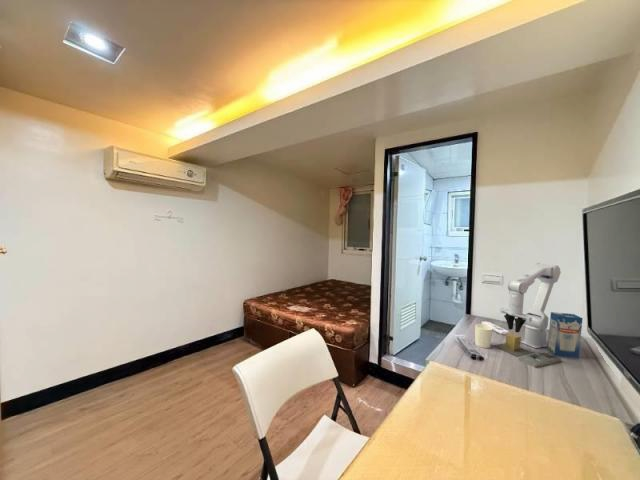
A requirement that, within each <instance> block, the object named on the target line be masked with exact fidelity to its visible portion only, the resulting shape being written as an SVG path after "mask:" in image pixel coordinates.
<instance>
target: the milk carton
mask: <svg viewBox="0 0 640 480" xmlns="http://www.w3.org/2000/svg"><path fill="white" fill-rule="evenodd" d="M582 326H583V317H581V316H579V315H576V314H574V313H568V312H567V313H565V312H564V313H563V312H554V311H551V312H550V318H549V329H548V330H549V331H548V342H547V351H548V353H550V354H553V355H555V356H558V357H560V358H561V357H562V358H571V359H578V360H579V358H580V349H581V338H582V329H583V327H582Z"/></svg>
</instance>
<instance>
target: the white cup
mask: <svg viewBox="0 0 640 480" xmlns="http://www.w3.org/2000/svg"><path fill="white" fill-rule="evenodd" d="M493 329H494V328H493V327H492V326H490V325H487V324H483V323H477V324H475V325H474V338H475V340H474V341H475V342H474V343H475V345H476V346H477V347H478V348H479V347H480V348H482V349H483V348H484V349H489V348H491V342H492V339H493Z"/></svg>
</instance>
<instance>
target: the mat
mask: <svg viewBox="0 0 640 480" xmlns="http://www.w3.org/2000/svg"><path fill="white" fill-rule="evenodd" d="M505 344H506V342H503V343H498V344H493V345H492V346H493V347H495V348H497V349H499V350H502V351H504V352H506V353H508V354H509V355H512V356H514V357H516V358H517V357H519V356H522V355H527V354H532V353H534V352H532V351H530V350H528V349H526V348H523V347H521V346H520V350H519V351H512V350H510V349H507V348H505Z"/></svg>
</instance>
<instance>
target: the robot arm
mask: <svg viewBox="0 0 640 480" xmlns="http://www.w3.org/2000/svg"><path fill="white" fill-rule="evenodd" d="M561 272H562V271H561V268H560V266H559V265H554V264H548V263H540V262H537V263H536V264H534V266H533V269H532V270H531V271H530V272H529V273H524V274H523V275H521V276H520V277H518V278H517V279H515V280H514V279H513V280H510V281H509V282H508V285H507V290H508V294H509V301H508V309H506V308H500V310H499V312H500V313H501V314H502V313H503V314H504V316H503V317H504V318H505V321H506V323H507V324H506V325H507V327H508V330H509V331H510V330H515V333H520V331H521V328H522V327H523V326H524V327H525V329H524V339H523V340H521V343H522V344H525V345H527V346H529V347H532V348H534V349H539V348H545V347H548V344H546V341H547V332H546V329H548V325H549V320H550V318H549V316H548V315H547V314H546V313H545V310H546V306H547V304H548V302H549V299H550V296H551V293H552V290H553V288H554V285H555V283H557V282H558V281H559V278H560V275H561ZM536 279H538V280H539V281H540V282H541V283H540V285H539V288H538V292H537V294H536V297H535V299H534V302H533V306H532V308H530V309H526V310H525V312H524V313H523V311H524V299H525V294H526V293H527V291H528V289H529V287H530V286H532V285H533V284H534V283H535V282H536ZM514 322H515V323H514ZM514 324H515V329H514Z"/></svg>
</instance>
